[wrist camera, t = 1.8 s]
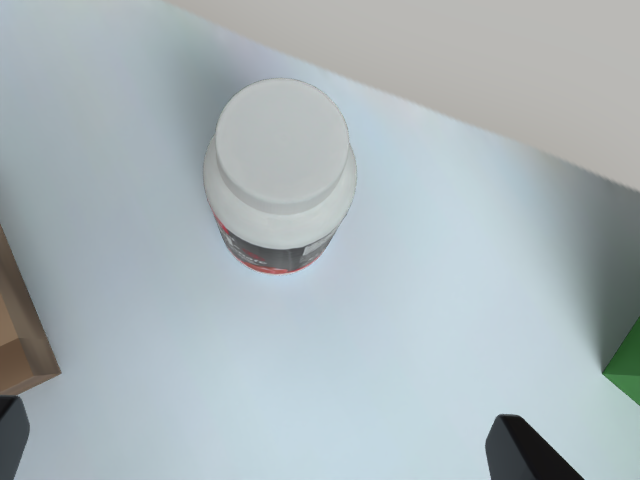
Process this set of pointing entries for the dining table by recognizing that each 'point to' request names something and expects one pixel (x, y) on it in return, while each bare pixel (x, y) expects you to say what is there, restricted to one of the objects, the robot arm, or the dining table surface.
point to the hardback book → (627, 365)
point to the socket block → (20, 332)
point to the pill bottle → (279, 174)
